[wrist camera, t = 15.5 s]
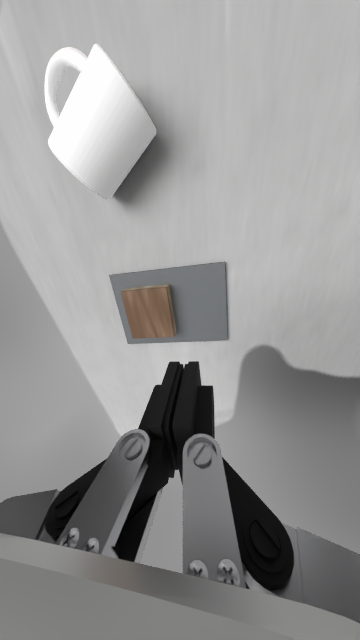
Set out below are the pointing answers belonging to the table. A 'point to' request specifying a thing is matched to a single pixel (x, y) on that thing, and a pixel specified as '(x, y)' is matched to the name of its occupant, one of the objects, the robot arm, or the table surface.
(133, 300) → the tile
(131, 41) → the table surface
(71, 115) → the mug
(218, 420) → the table surface
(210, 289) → the mat
